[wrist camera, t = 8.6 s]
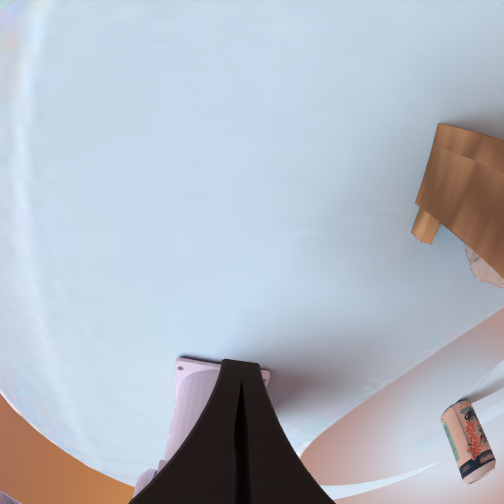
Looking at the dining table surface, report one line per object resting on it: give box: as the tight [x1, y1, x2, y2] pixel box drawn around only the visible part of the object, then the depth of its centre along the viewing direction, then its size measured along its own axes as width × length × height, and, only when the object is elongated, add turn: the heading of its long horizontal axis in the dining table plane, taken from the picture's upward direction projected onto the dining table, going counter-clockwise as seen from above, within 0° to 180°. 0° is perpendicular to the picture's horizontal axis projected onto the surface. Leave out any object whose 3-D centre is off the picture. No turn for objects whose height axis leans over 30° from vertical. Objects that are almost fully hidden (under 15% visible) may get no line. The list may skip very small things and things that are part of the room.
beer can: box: [441, 400, 496, 484], centre depth 25 cm, size 5×5×12 cm
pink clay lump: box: [465, 244, 504, 288], centre depth 15 cm, size 6×7×7 cm
